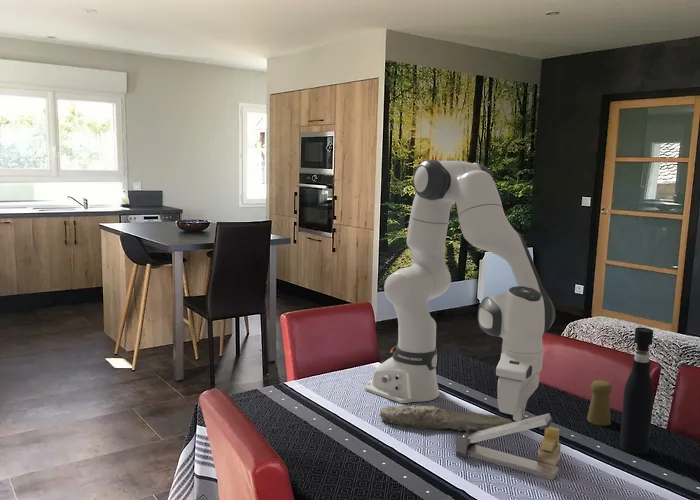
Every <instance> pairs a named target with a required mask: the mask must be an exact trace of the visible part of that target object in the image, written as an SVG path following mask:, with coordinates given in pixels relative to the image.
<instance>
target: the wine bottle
mask: <svg viewBox="0 0 700 500" xmlns="http://www.w3.org/2000/svg"><path fill="white" fill-rule="evenodd" d="M653 339H654V330H653V329H652V328H648V327H642V326H641V327H636V328H634V340H633V341H634V343H635V344H636V351H635V352H634V357H633V359H632V364H631V365H632V366H631V372H630V373H629V376H627V377H628V378H627V379H626V382H625V386H624V389H623V398H622V399H623V403H622V411H621V412H622V415H621V424H620V425H621V426H620V437H619V447H620V448H621V450H623V451H624V452H627V453H629V454H633V455H645V454H648V453H649V451H650V450H649V449H650V439H651V429H652V418H653V417H652V416H653V406H654V397H655V393H654V385H653V382H652V378H651V374H650V372H651V371H650V370H651V361H650V360H651V359H650V358H651V356H650V353H649V352H650V351H649V348H650V347H649V346H651V345H653V342H654V341H653Z"/></svg>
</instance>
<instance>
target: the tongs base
mask: <svg viewBox="0 0 700 500" xmlns="http://www.w3.org/2000/svg"><path fill="white" fill-rule="evenodd" d="M467 431H472V432H473V433H474V432H477V428H475V427H471V426H467V427H466V431H465V433H466V432H467ZM455 438H456V439H455V440H456V442H455V457H459V458H462V459H467V458H468V457H469V458H470V457H471V458H474V459H477V460H482V461H484V462H488V463H491V464H496V465H498V466H502V467H506V468H509V469H513V470H516V471H520V472H523V473H527V474H530V475H533V476H538V477H540V478H545V479H548V480H552V481H554V480H555V479H556V477H557V475H558V473H559V466H551V465H548V464H544V463H540V462H538V460H537V461H536V460H533V459H530V458H525V457H521V456H518V455H514V454H510V453H507V452H503V451H499V450H496V449H492V448H488V447H484V446H482V445H477V442H475V443H471V444H469V445H468V446H467V438H465V437H462V435H456V437H455Z"/></svg>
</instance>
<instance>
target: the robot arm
mask: <svg viewBox="0 0 700 500" xmlns="http://www.w3.org/2000/svg"><path fill="white" fill-rule="evenodd" d="M412 179H413V180H412V181H413V182H412V183H413V188H414V191H415V195H414V198H413V202H412V205H411V210H410V216H409V221H408V228H407V233H406V234H407V235H406V244H407V245H406V246H407V247H408V248H409V250H410V252H411V261H412V262H411V265H410V266H406V267H402V268H399V269H397V270H395V271H394V272H393V273H391V274H389V275H388V276H387V277H386V279H385V281H384V285H383V289H384V290H383V291H384V295H385V297H386V299H387V300H388V301H389V303H391V304H392V305H393V308H394V311H395V314H396V316H397V318H396V319H397V324H398V326H397V327H398V328H397V330H398V332H397V333H398V340H397V343H396V345H395V346H393V347H392V348H391V349H390V352H389V353H390V354H392V356H390V358H388V359H386V360H385V361H383V362H382V363H380V364H379V365H378V366H377V367H376V368H375V370H374V372H373V377H372V378H371V379H370V380H369V381H367V382H366V384H365V386H364V387H365V388H364V389H365V391H367V392H369V393H373V394H375V395H378V396H381V397H382V398H386V399H388V400H392V401H395V402H397V403H400V404H406V403H407V404H408V403H414V402H415V403H417V402H418V403H420V402H421V403H422V402H429V401H433V400H435V399H437V398H438V397H439V396H440V389H439V385H438V379H437V369H436V367H437V362H438V349H437V347H436V345H437V343H436V341H437V323H436V320H435V319H434V318H433V317H432V316H431V314H430V310H429V301H430V300H434V299H436V298H439V297H440V296H441V295H443V294H444V293H445V292H447V290H449V288H450V286H451V283H452V274H451V273H450V271H449V269H448V268H447V265H446V257H445V256H446V255H445V254H446V253H445V251H446V249H445V248H446V239H447V233H448V228H449V222H450V216H451V215H450V214H451V210H452V209H451V208H452V207H453V205H454V204H455V205H456V212H457V217H458V222H459V226H460V230H461V233H462V236H463V237H464V239H465V240H466V242H468V243H469V244H471V245H472V246H473V247H474V248H477V249H479V250H482V251H486V252H489V253H491V254H494V255H497V256H498V257H500V258H502V259H503V260H505V262H506V263H508V265H509V266H510V268H511V270H512V274H513V277H514V279H515V282H516V284H517V286H512V287H510V288H508V289H507V290H506V292H504V293H500V294H493V295H489V296H485V297H484V298H483V299H482V300H481V302H480V303H479V305H478V308H477V312H476V313H477V315H476V316H477V318H476V319H477V323H478V326H479V327H480V329H481V330H482V331H483V332H484V333H485V334H487V335H489V336H491V337H499V338H502V344H501V354H500V360H499V361H498V364H496V365H497V366H496V368H495V375H496V376H498V380H497V407H498V411H499V412H500V413H504V414H508V415H511V416H512V420H514V422H517V421H521V420H523V418H524V417H525V412H526V411H525V410H526V407H527V403H528V400H529V398H530V397H531V396H532V395H533V394H534V393H535V391H536V390H537V389H538V387H539V384H540V372H541V371H542V370H543V360H544V359H543V357H544V346H543V345H544V344H543V335H545V333H547V332H548V331H549V329H550V328H551V327H552V325H553V324H554V322H555V319H556V310H555V306H554V304H553V302H552V300H551V298H550V296H549V294H548V293H547V291H546V290H545V288H544V285H543V283H542V281H541V278H540V276H539V272H538V270H537V268H536V266H535V263H534V261H533V258H532V256H531V252H530V250H529V248H528V246H527V244H526V242H525V240H524V237H523V236H522V234H521V233H520V232H519V231H517V230H516V229H514V227H513V226H512V225H511V223H510V222H509V220H508V218H507V216H506V214H505V211H504V208H503V204H502V203H503V202H502V200H501V196H500V194H499V191H498V188H497V186H496V183H495V181H494V179H493V176H492V171H490V169H489V168H488V167H487V166H486V165H484V164H481V163H478V162H473V163H472V162H469V161H463V160H458V159H457V160H437V159H430V160H429V159H428V160H425V161H422V162H421V163H419V164H418V165H417V167H416V168H415V170H414V173H413V178H412Z"/></svg>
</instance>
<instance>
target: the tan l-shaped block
mask: <svg viewBox="0 0 700 500" xmlns="http://www.w3.org/2000/svg"><path fill="white" fill-rule="evenodd" d="M559 441H560V428H557V427H553V426H551V425H550V426H549V428H546V429H544V437H543V438H542V440H541V445H540V447H541V449H543V450H547V451H551V452H552V451H553V449H554V447H555V446H556V445H558V443H560V442H559Z"/></svg>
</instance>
